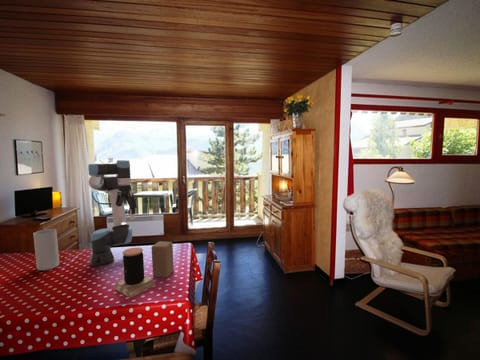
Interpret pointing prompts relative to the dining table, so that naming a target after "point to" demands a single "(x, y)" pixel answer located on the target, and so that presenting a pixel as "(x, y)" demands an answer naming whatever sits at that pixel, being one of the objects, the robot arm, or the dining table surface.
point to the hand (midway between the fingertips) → (126, 217)
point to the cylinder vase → (46, 249)
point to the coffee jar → (133, 266)
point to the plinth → (134, 287)
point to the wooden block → (162, 259)
